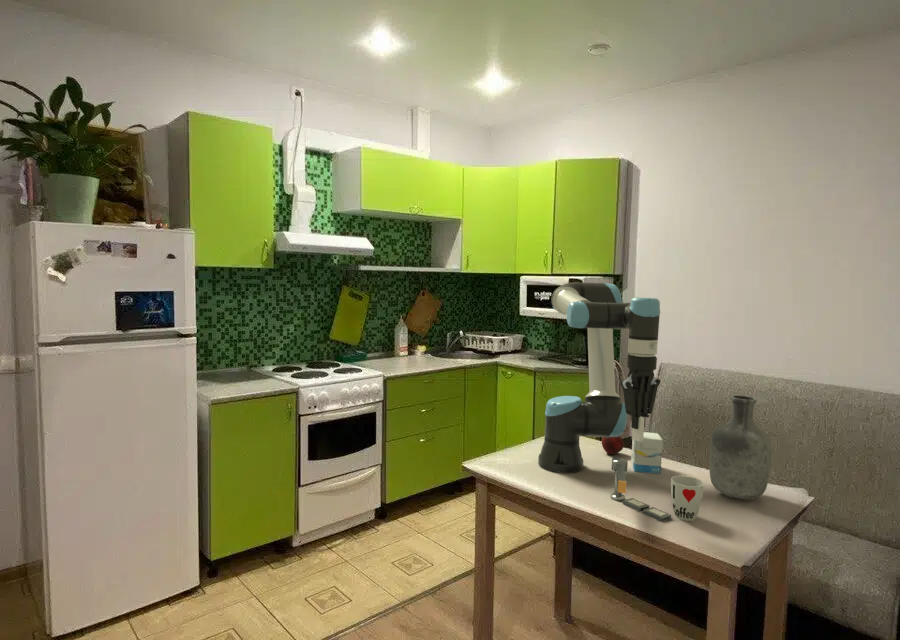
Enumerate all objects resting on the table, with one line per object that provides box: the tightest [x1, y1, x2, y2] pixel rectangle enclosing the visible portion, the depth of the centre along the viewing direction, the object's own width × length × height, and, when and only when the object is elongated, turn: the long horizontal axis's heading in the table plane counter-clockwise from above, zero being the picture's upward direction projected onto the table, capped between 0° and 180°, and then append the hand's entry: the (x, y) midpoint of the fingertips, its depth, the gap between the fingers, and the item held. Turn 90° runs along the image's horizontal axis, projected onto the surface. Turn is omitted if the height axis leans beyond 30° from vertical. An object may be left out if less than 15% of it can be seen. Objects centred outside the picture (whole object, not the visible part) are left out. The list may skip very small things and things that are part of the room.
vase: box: [709, 394, 772, 500], centre depth 164 cm, size 16×16×30 cm
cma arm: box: [610, 457, 629, 494], centre depth 152 cm, size 20×4×3 cm, turn 165°
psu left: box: [622, 497, 651, 513], centre depth 155 cm, size 6×4×1 cm, turn 32°
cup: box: [670, 475, 705, 522], centre depth 148 cm, size 8×8×10 cm
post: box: [610, 471, 626, 502], centre depth 160 cm, size 4×4×8 cm
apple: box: [601, 435, 625, 456], centre depth 201 cm, size 7×8×8 cm
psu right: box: [642, 506, 672, 522], centre depth 149 cm, size 6×4×1 cm, turn 32°
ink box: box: [630, 431, 664, 474], centre depth 186 cm, size 8×8×12 cm
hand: (637, 439), depth 150 cm, fingers closed
